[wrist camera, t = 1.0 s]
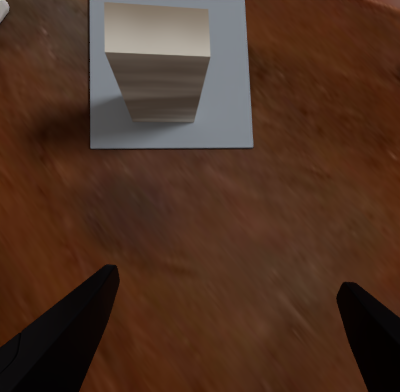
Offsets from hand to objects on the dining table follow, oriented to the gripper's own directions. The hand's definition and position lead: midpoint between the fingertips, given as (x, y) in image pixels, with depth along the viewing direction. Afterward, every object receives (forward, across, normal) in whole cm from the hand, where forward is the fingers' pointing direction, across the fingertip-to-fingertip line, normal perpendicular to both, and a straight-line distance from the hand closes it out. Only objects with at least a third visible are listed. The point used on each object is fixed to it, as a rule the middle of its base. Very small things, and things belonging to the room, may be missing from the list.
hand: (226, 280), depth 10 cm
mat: (+22, +6, -8) cm, 24 cm away
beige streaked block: (+18, +6, -4) cm, 19 cm away
